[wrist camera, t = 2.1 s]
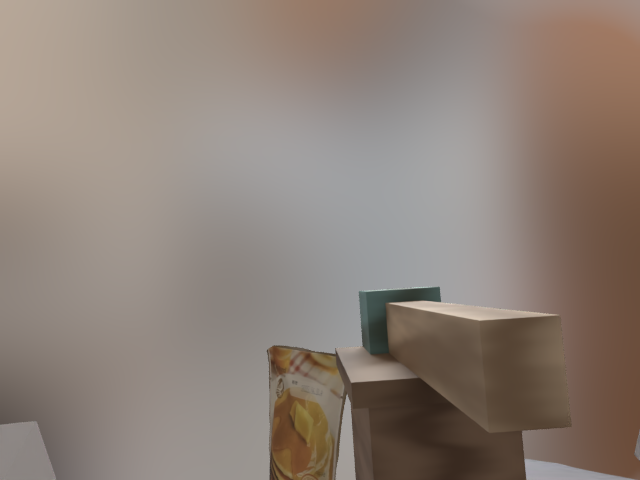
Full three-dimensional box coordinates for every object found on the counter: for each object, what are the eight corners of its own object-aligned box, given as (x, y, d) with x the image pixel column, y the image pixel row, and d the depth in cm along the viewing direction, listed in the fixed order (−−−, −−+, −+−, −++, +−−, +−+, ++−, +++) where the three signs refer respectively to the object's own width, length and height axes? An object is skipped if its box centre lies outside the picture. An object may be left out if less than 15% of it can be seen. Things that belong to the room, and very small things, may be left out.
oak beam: (447, 435, 19) (436, 295, 20) (362, 346, 49) (358, 291, 50) (612, 424, 20) (597, 285, 20) (428, 342, 49) (423, 287, 50)
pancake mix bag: (299, 542, 76) (288, 342, 79) (370, 610, 59) (353, 352, 62) (254, 556, 73) (243, 347, 76) (315, 631, 56) (299, 359, 59)
